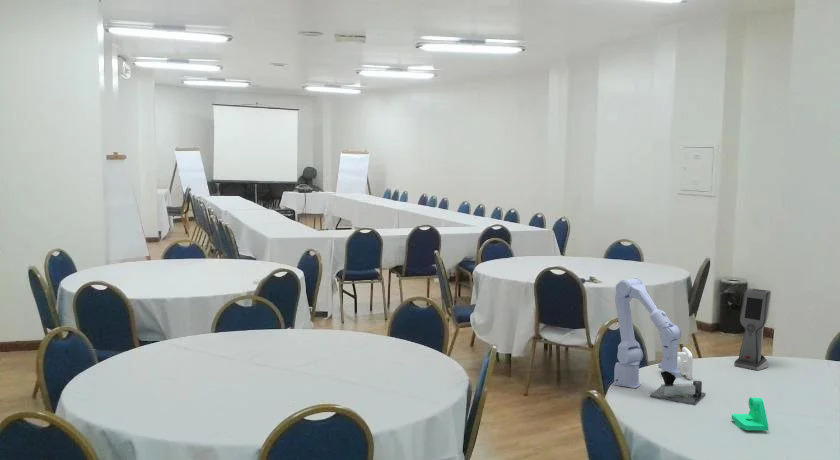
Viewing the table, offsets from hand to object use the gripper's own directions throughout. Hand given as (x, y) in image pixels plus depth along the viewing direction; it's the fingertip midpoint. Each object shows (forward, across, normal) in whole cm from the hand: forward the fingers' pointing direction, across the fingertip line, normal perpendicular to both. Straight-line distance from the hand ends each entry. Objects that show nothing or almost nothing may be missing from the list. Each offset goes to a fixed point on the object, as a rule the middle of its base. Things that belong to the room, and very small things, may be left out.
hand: (668, 390), depth 271 cm
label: (+2, -1, -5) cm, 6 cm away
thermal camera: (+2, +38, -60) cm, 71 cm away
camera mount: (+2, -36, -11) cm, 38 cm away
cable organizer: (+3, +27, -17) cm, 32 cm away
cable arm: (+1, -3, -4) cm, 5 cm away
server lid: (+2, 0, -4) cm, 4 cm away
